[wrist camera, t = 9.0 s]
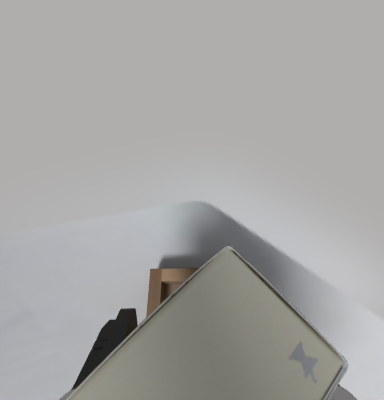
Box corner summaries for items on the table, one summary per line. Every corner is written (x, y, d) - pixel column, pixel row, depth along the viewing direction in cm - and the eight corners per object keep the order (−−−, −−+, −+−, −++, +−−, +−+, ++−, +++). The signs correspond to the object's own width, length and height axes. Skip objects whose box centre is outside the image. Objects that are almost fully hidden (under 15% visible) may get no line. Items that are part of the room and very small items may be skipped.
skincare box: (209, 280, 17) (234, 232, 7) (247, 324, 16) (363, 355, 5) (149, 339, 15) (42, 410, 4) (186, 397, 13) (155, 725, 3)
